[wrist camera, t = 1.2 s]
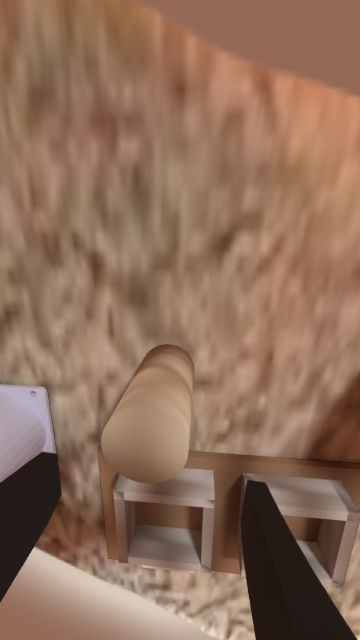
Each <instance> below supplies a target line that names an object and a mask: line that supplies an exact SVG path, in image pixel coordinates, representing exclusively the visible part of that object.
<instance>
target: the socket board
mask: <svg viewBox="0 0 360 640" xmlns="http://www.w3.org/2000/svg"><path fill="white" fill-rule="evenodd" d="M98 459H99V470H100V480H101V490H102V501H103V511H104V521H105V532H106V542H107V552H108V559H114V560H119V562H121V563H129V564H138V565H142V567H145V568H153V569H162V570H170V571H179V572H187V573H194V571H198V572H206V573H211V571H217V572H226V573H234V574H241V577H246V574H245V568H244V561H243V550H242V538H241V524H240V521H241V515H242V509H243V502H244V496H245V490H246V484H247V480H252V481H260V482H265V483H266V484H267V486H268V488H269V490H270V492H271V494H272V496H273V498H274V500H275V502H276V504H277V506H278V508H279V510H280V512H281V514H282V516H283V517H284V519H285V521H286V523H287V525H288V527H289V529H290V530H291V532H292V534H293V536H294V538H295V539H296V541H297V543H298V545H299V546H300V548H301V550H302V552H303V553H304V555H305V557H306V558H307V560H308V562H309V564H310V565H311V567H312V569H313V570H314V572H315V574H316V575H317V577H318V579H319V580H320V582H321V584H322V585H323V586H326V587H335V588H341V587H342V586H343V584H344V580H345V576H346V572H347V568H348V565H349V561H350V557H351V553H352V550H353V546H354V542H355V538H356V534H357V531H358V527H359V523H360V464H356V463H343V462H330V461H316V460H303V459H290V458H276V457H263V456H250V455H237V454H223V453H210V452H197V451H188V458H187V461H186V464H185V466H184V467H183V469H182V470H181V471H180V472H179V473H178V474H177V475H176V476H174V477H173V478H171V479H169V480H167V481H164V482H160V483H152V484H148V483H139V482H135V481H132V480H130V479H127V478H125V477H124V476H122V475H120V474H119V473H118V472H116V471H115V470H114V469H113V468H112V467H111V466H110V465H109V463H108V462H107V460H106V459H105V457H104V454H103V451H102V447H101V444H100V446H99V448H98Z"/></svg>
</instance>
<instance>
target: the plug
mask: <svg viewBox="0 0 360 640" xmlns="http://www.w3.org/2000/svg"><path fill="white" fill-rule="evenodd" d="M193 378H194V364H193V361H192V359H191V357H190V356H189V354H188V353H187V352H186V351H185V350H183V349H182V348H180V347H178V346H175V345H170V344H164V345H159V346H157V347H154V348H153V349H151V350H150V351H149V352H148V353H147V355H146V356H145V358H144V360H143V361H142V363H141V365H140V367H139V369H138V370H137V372H136V374H135V376H134V377H133V379H132V381H131V383H130V384H129V386H128V388H127V390H126V391H125V393H124V395H123V397H122V398H121V400H120V402H119V404H118V405H117V407H116V409H115V411H114V412H113V414H112V416H111V418H110V419H109V421H108V423H107V425H106V426H105V428H104V430H103V433H102V438H101V447H102V451H103V454H104V457H105V459H106V460H107V462H108V463H109V465H110V466H111V467H112V468H113V469H114V470H115V471H116V472H118V473H119V474H120V475H122V476H124V477H125V478H127V479H130V480H132V481H135V482H139V483H148V484H152V483H160V482H164V481H167V480H169V479H171V478H173V477H174V476H176V475H177V474H178V473H179V472H180V471H181V470H182V469H183V467H184V466H185V464H186V461H187V458H188V450H189V436H190V421H191V407H192V393H193Z"/></svg>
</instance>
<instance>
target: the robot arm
mask: <svg viewBox="0 0 360 640" xmlns="http://www.w3.org/2000/svg"><path fill="white" fill-rule="evenodd" d="M33 391H34V392H35V393H36V394H35V393H34V392H33ZM60 497H61V485H60V476H59V467H58V458H57V452H56V446H55V439H54V432H53V426H52V419H51V413H50V406H49V399H48V393H47V390H46V389H45V388H44V387H39V386H21V385H3V384H0V602H1V600H2V599H3V597H4V595H5V594H6V592H7V590H8V589H9V587H10V586H11V584H12V582H13V581H14V579H15V577H16V576H17V574H18V572H19V570H20V569H21V567H22V566H23V564H24V563H25V561H26V559H27V557H28V556H29V554H30V553H31V551H32V549H33V548H34V546H35V544H36V543H37V541H38V539H39V538H40V536H41V534H42V533H43V531H44V529H45V527H46V526H47V524H48V522H49V520H50V518H51V516H52V513H53V511H54V509H55V507H56V505H57V503H58V501H59V499H60ZM240 524H241V538H242V550H243V561H244V568H245V574H246V581H247V587H248V593H249V599H250V606H251V612H252V618H253V624H254V631H255V637H256V640H357V638H356V637H355V635H354V634H353V632H352V631H351V629H350V628H349V626H348V625H347V623H346V622H345V620H344V618H343V617H342V615H341V614H340V612H339V611H338V609H337V608H336V606H335V604H334V603H333V601H332V600H331V598H330V596H329V595H328V593H327V592H326V590H325V588H324V587H323V585H322V584H321V582H320V580H319V579H318V577H317V575H316V574H315V572H314V570H313V569H312V567H311V565H310V564H309V562H308V560H307V558H306V557H305V555H304V553H303V552H302V550H301V548H300V546H299V545H298V543H297V541H296V539H295V538H294V536H293V534H292V532H291V530H290V529H289V527H288V525H287V523H286V521H285V519H284V517H283V516H282V514H281V512H280V510H279V508H278V506H277V504H276V502H275V500H274V498H273V496H272V494H271V492H270V490H269V488H268V486H267V484H266V483H265V482H260V481H252V480H247V484H246V490H245V496H244V502H243V509H242V515H241V521H240Z"/></svg>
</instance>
